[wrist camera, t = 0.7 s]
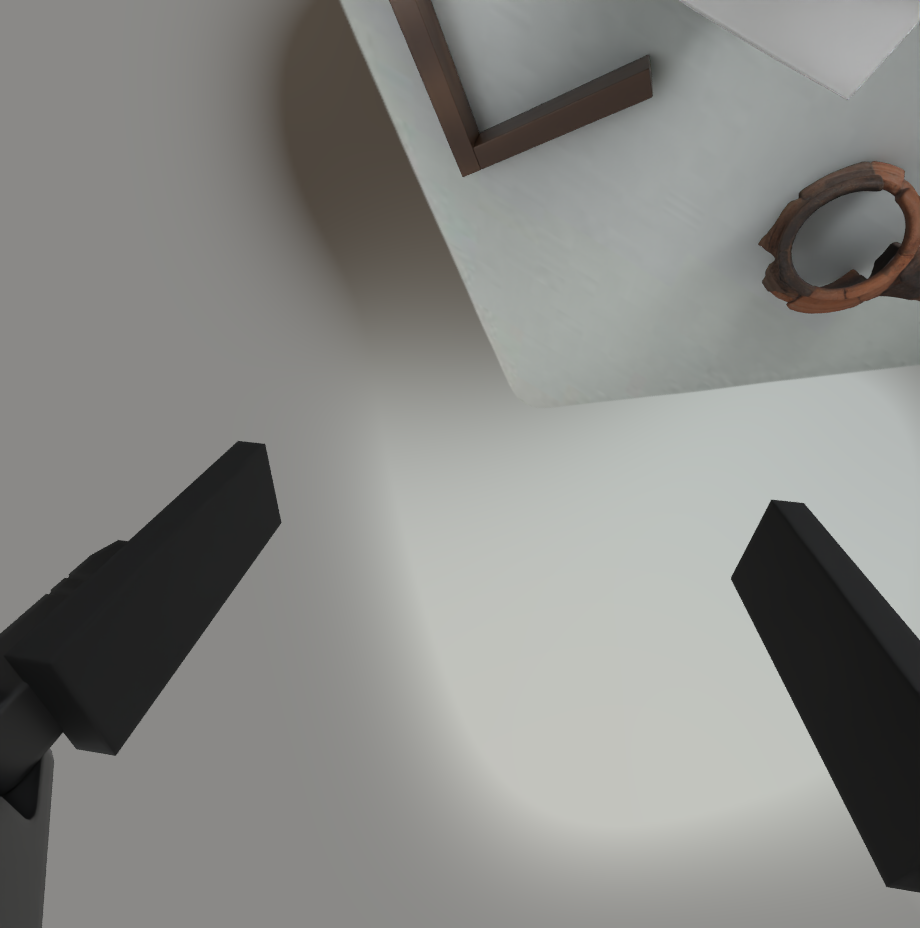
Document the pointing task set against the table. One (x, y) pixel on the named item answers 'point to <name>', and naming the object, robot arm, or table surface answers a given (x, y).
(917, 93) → the table surface
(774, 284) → the broken clay pot
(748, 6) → the white and green carton
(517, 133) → the bay
